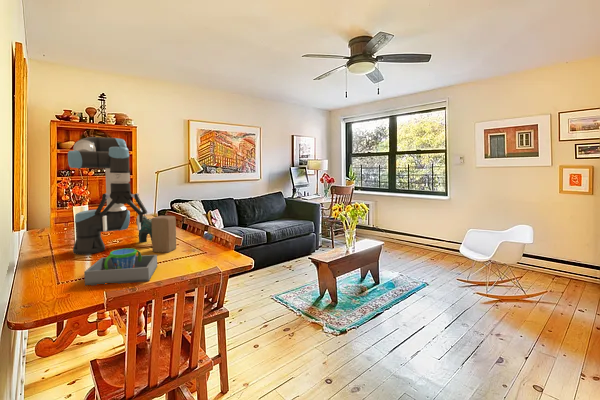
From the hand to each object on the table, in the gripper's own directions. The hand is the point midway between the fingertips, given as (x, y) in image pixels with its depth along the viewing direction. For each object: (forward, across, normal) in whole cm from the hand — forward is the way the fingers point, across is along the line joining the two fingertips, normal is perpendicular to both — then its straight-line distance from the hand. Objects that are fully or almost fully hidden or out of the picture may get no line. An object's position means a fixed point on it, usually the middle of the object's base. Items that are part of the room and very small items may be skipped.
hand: (122, 230), depth 137 cm
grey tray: (+21, 0, 0) cm, 21 cm away
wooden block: (+21, +11, +40) cm, 46 cm away
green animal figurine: (+21, -1, +59) cm, 63 cm away
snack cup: (+20, 0, 0) cm, 20 cm away
